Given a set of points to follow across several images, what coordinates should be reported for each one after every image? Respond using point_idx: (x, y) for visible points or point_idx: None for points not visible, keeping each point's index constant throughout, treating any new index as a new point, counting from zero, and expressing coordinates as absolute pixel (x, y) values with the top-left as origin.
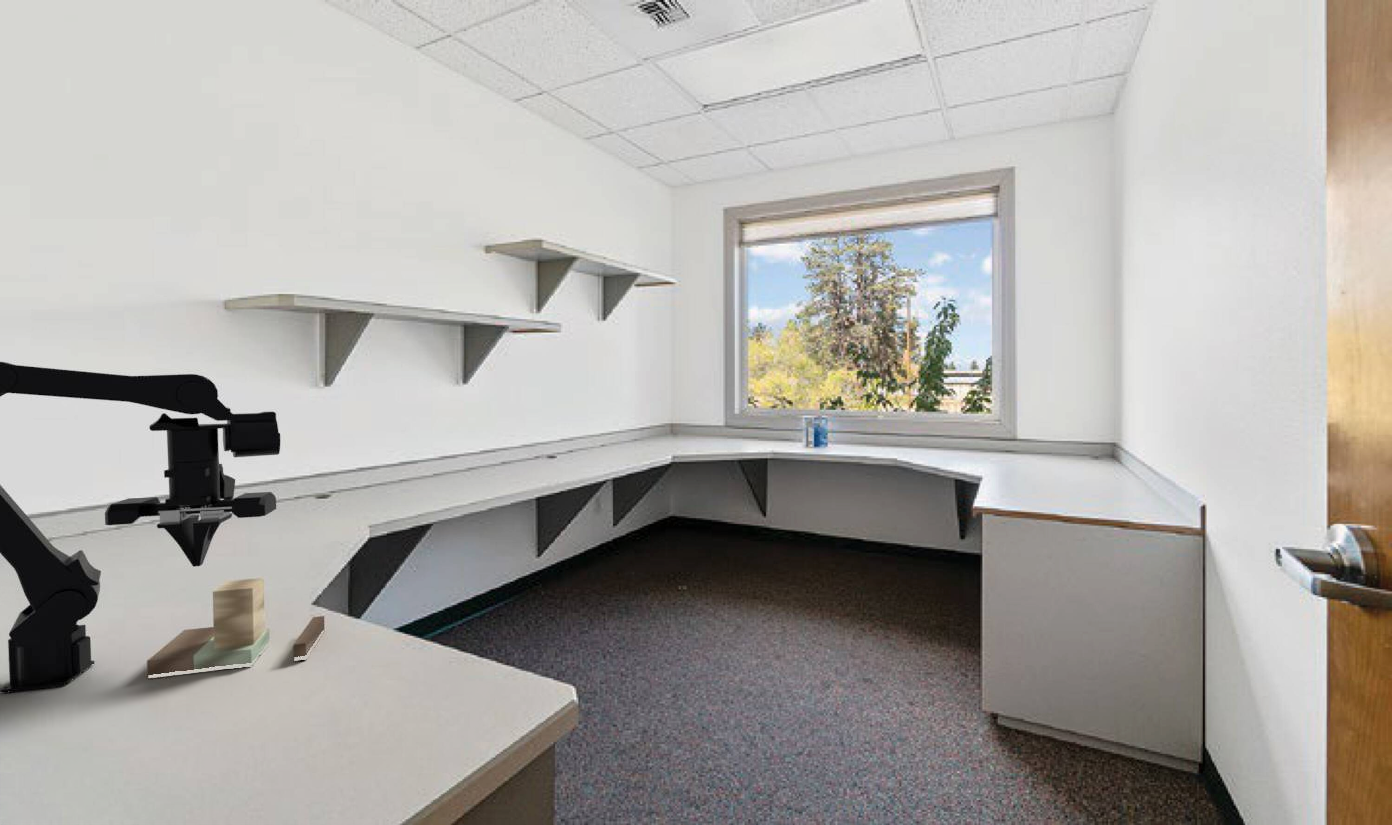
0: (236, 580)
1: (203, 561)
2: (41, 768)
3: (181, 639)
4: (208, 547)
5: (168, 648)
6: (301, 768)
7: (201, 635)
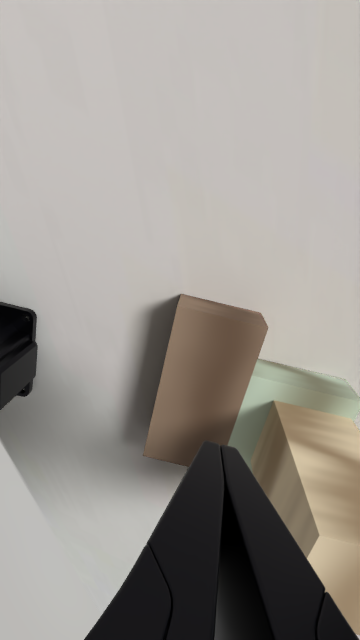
0: (354, 547)
1: (241, 457)
2: (106, 589)
3: (182, 372)
4: (288, 541)
5: (166, 412)
6: None
7: (220, 369)
